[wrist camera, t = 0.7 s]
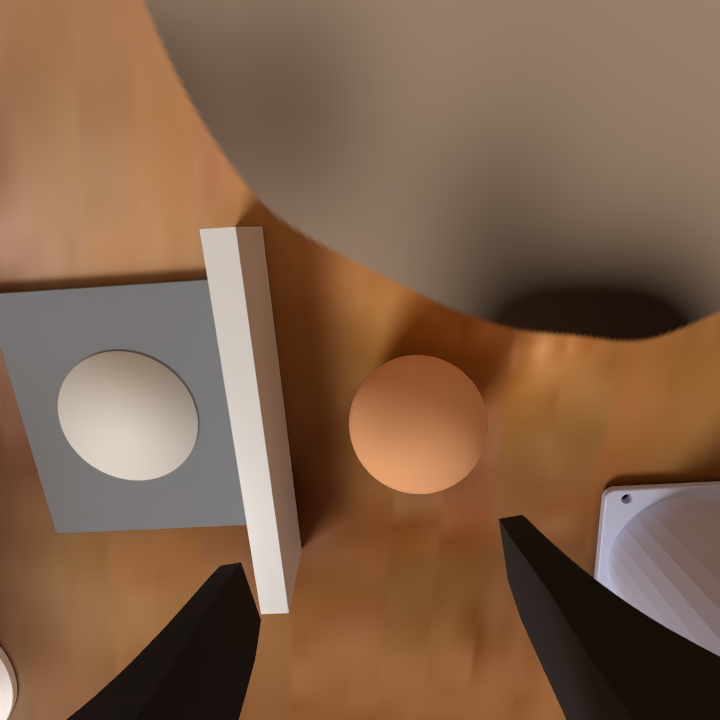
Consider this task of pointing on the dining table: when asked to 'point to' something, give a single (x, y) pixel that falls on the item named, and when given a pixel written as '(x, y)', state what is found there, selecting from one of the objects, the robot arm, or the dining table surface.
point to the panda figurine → (7, 686)
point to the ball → (418, 424)
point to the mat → (124, 405)
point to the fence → (255, 406)
